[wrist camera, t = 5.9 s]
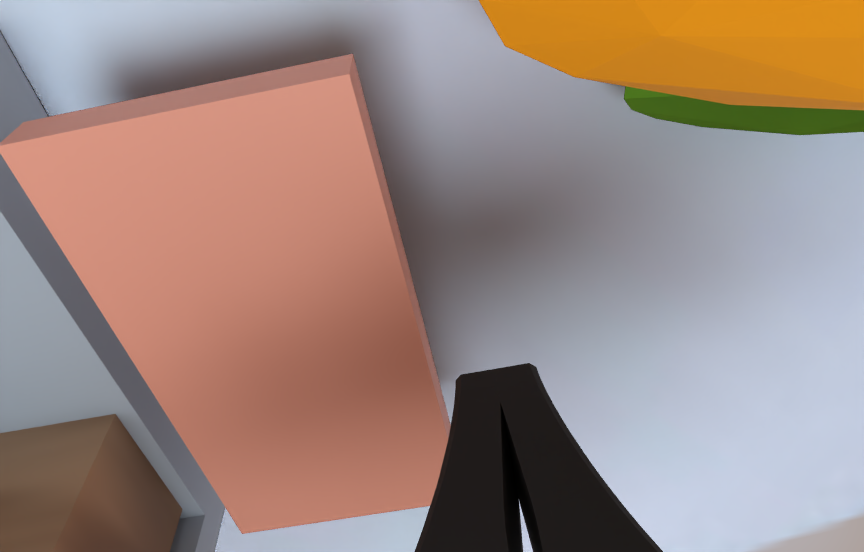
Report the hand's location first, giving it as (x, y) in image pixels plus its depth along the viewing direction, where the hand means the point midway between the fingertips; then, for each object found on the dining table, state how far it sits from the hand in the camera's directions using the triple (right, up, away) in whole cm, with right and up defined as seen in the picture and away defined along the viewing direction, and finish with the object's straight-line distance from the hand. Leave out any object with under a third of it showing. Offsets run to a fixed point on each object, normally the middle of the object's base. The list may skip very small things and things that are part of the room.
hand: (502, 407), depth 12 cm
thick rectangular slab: (-7, +1, +3) cm, 8 cm away
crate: (-11, -3, +6) cm, 12 cm away
